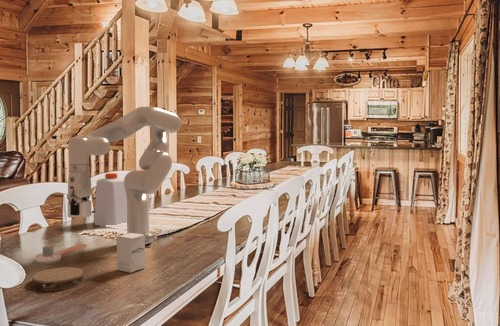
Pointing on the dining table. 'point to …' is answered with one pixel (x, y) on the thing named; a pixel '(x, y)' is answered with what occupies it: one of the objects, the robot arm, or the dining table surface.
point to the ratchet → (56, 254)
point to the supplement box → (130, 252)
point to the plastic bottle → (110, 201)
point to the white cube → (82, 209)
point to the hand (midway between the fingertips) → (79, 213)
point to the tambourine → (58, 278)
